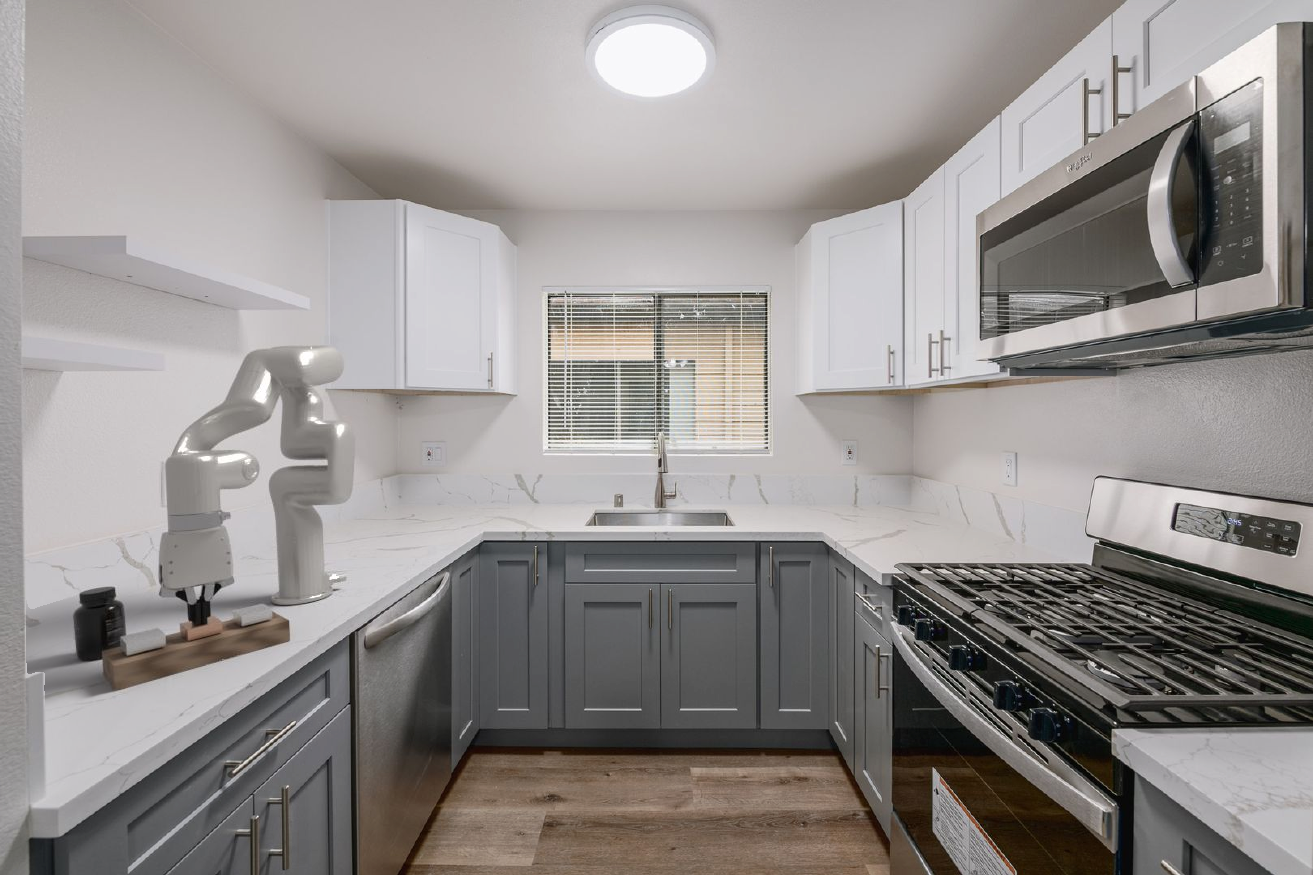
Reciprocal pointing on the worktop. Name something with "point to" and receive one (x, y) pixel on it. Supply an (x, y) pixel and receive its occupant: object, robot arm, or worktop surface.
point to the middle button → (200, 628)
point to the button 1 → (142, 641)
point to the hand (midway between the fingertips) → (199, 622)
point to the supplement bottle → (98, 623)
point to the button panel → (192, 651)
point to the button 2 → (252, 614)
